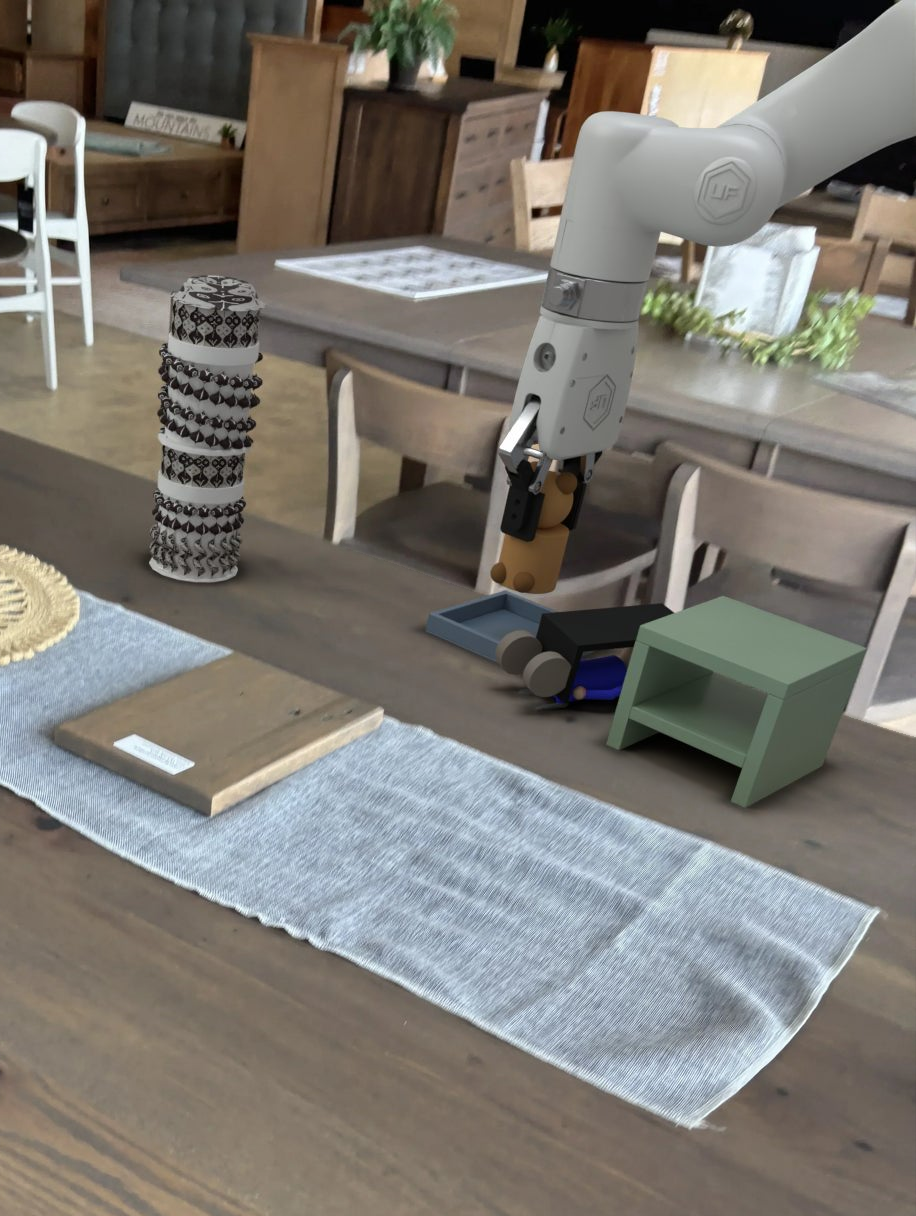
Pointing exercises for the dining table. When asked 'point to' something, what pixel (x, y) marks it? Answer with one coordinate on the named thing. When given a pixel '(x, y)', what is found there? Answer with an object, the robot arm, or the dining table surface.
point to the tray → (487, 621)
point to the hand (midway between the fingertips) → (538, 529)
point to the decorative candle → (205, 428)
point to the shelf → (738, 691)
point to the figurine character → (576, 652)
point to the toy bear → (539, 542)
